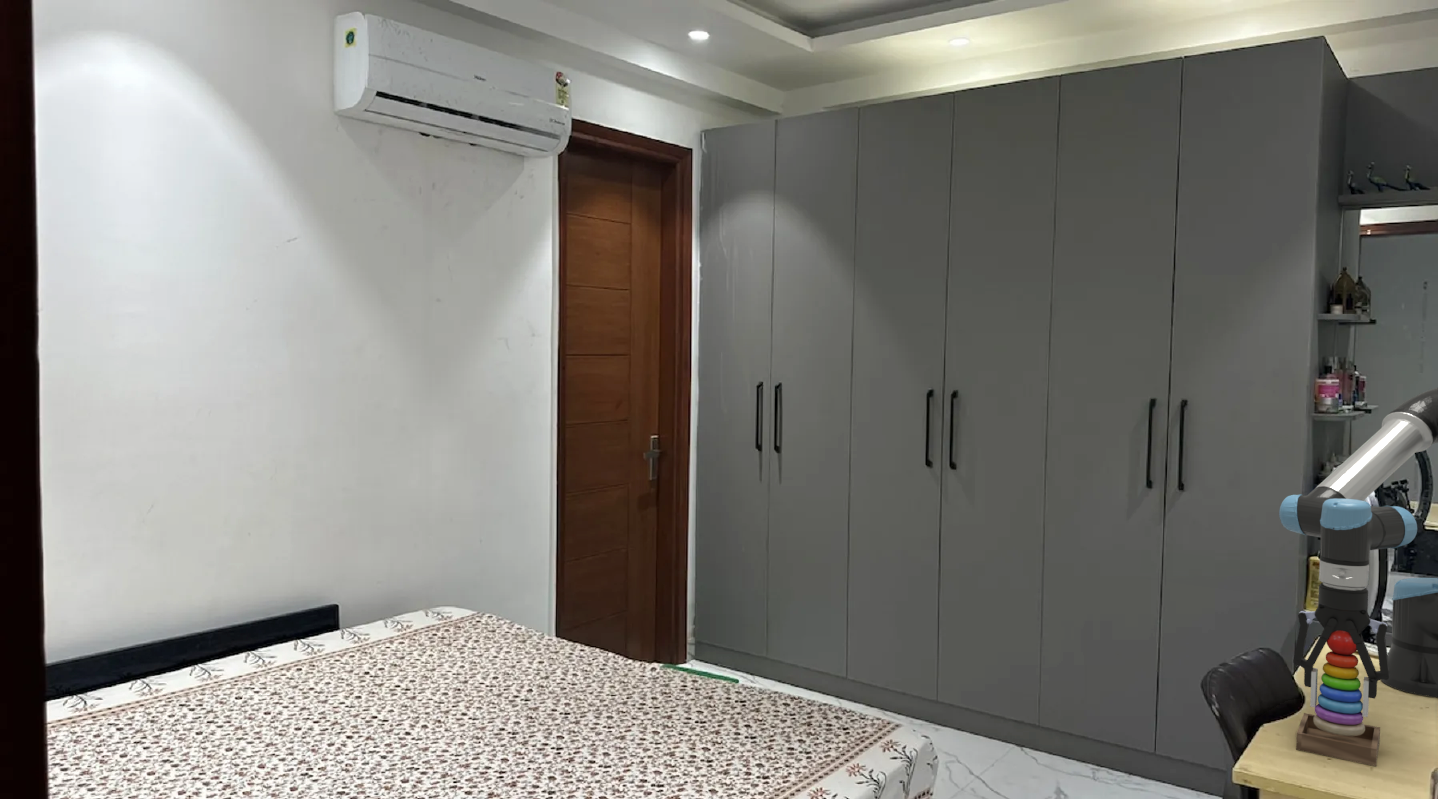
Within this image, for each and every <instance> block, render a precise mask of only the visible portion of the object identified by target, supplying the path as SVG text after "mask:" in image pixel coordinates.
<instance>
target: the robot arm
mask: <svg viewBox="0 0 1438 799" xmlns="http://www.w3.org/2000/svg"><path fill="white" fill-rule="evenodd" d="M1434 444H1438V387H1435V388H1431V389H1428V390H1425V391H1424V392H1421V393H1419V394H1417V395H1414V396H1412V397H1411V398H1409V399H1407V400H1405V401H1404V402H1402V403H1401V404H1399V405H1398V406H1397V407H1395V408H1394V409H1393V410H1392V411H1390V412H1389V413H1388V414H1387V415H1386V416H1385V417H1383V419H1382V421H1381V428H1380V429H1378V431H1376V432H1375V433H1374V434H1373V435H1371V437H1370V438H1369V439H1367V441H1366V442H1364V443H1363V444H1362V445H1361V446H1360V447H1358V449H1356V451H1354V452H1353V453H1352V454H1351V455H1350V456H1349V457H1348V458H1346V459H1345V461H1343V462H1342V463H1341V464H1340V465H1339V466H1338V467H1337V468H1336V469H1335V470H1333V471H1332V472H1331V473H1330V474H1329V475H1328V476H1327V477H1326V478H1325V479H1323V480H1322V482H1320V483H1318V485H1317V486H1316V487H1315V488H1314V489H1312V490H1311V491H1310V492H1309V493H1308V494H1307V495H1304V494H1292V495H1287V496H1286V497H1285V498H1284V499H1283V500H1282V502H1281V504H1280V506H1279V513H1278V514H1279V519H1280V523H1281V525H1282V526H1283V528H1284V529H1286V530H1287V531H1289V532H1293V533H1296V534H1300V535H1304V536H1311V537H1317V538H1320V554H1319V574H1318V575H1319V576H1318V580H1319V581H1320V582H1321V583H1320V584H1319V585H1318V598H1317V599H1318V600H1317V602H1318V603H1317V608H1316V609H1315V610H1314V611H1313V610H1311V611H1306V610H1303V609H1302V610H1300V611H1299V612H1298V614H1297V617H1298V622H1299V630H1298V634H1297V640H1296V644H1295V650H1294V654H1293V661H1292V663H1293V665H1296V666H1299V667H1301V668H1302V669H1303V670H1304V673H1303V674H1304V676H1303V685H1304V687H1306V688H1307V687H1308V688H1310V703H1309V706H1310V707H1312V708H1315V706H1316V705H1317V704H1318V677H1319V676H1318V674H1319V672H1318V667H1314V666H1315V664H1316V662H1317V660H1318V658H1319V657H1320V654H1321V653H1322V651H1323V649H1324V648H1325V645H1326V644H1327V640H1328V638H1329V636H1330V634H1331V633H1332V632H1334V631H1339V630H1341V631H1346V632H1348V633H1350V635H1351V638H1352V640H1353V642H1354V644H1356V649H1357V650H1356V652H1357V654H1358V656H1359V658H1360V661H1361V663H1362V665H1363V668H1364V670H1365V673H1366V676H1364V678H1363V686H1362V687H1363V692H1362V703H1363V709H1362V716H1363V718H1364V717H1365V718H1368V716H1369V705H1370V704H1369V703H1370V702H1369V701H1370V699H1373V700H1375V699H1376V697H1377V694H1378V687H1377V686H1378V681H1381V682H1382V683H1384V684H1385V685H1387V686H1389V687H1390V688H1392V689H1393V688H1394V689H1396V690H1398V691H1403V692H1406V693H1409V694H1413V695H1418V696H1425V697H1433V698H1438V577H1410V578H1409V577H1408V578H1402V579H1399V580H1398V581H1396V582H1395V583H1394V586H1393V593H1392V598H1391V601H1392V617H1391V618H1392V623H1391V646H1390V648H1389V651H1388V649H1387V642H1386V633H1387V632H1388V631H1387V630H1388V627H1389V626H1388V623H1387V622H1386V621H1384V620H1383V621H1379V620H1375V619H1372V618H1371V616H1370V615H1369V613H1368V610H1369V609H1368V605H1369V604H1368V603H1369V602H1368V601H1369V590H1368V589H1367V588H1366V587H1368V586H1369V582H1370V580H1369V579H1370V578H1369V577H1370V555H1371V554H1370V552H1371V551H1374V550H1375V551H1376V550H1383V549H1384V550H1385V549H1396V548H1399V547H1403V546H1406V545H1408V544H1410V543H1411V542H1412V541H1414V540H1415V538H1416V537H1417V532H1418V524H1417V520H1416V519H1415V517H1414V516H1413V514H1412V513H1411V512H1410V511H1409V510H1407V509H1405V508H1404V507H1402V506H1396V505H1393V506H1390V505H1384V506H1376V505H1374V506H1373V505H1371V504H1370V503H1369V502H1368V501H1365V500H1366V499H1367V498H1369V496H1370V495H1371V494H1372V493H1373V492H1374V491H1376V490H1377V489H1378V488H1379V487H1380V486H1381V485H1382V484H1383V483H1384V482H1385V481H1386V480H1387V479H1388V478H1390V477H1391V476H1392V474H1393V475H1394V473H1395V472H1396V471H1397V470H1398V469H1399V468H1400V467H1401V466H1403V465H1404V464H1405V463H1406V462H1407V461H1408V460H1409V459H1410V458H1411V457H1412V456H1414V455H1415V453H1419V452H1420V453H1421V452H1424V451H1426V450H1428V449H1430V447H1431V446H1432V445H1434ZM1314 619H1316V620H1317V621H1318V623H1319V624H1320V625H1321V627H1322V628H1323V630H1322V632H1321V634H1320V636H1319V637H1318V639H1317V641H1316V643H1315V645H1314V647H1313V648H1312V650H1311V652H1310V654H1309V656H1308V658H1307V659H1306V658H1304V652H1305V648H1306V642H1307V637H1308V631H1309V627H1310V625H1311V624H1313V621H1314ZM1368 626H1369V627H1371V631H1372V632H1373V634H1375V636H1376V638H1375V641H1376V648H1377V657H1378V663H1379V670H1377V671H1376V667H1375V665H1374V663H1373V660H1372V658H1371V656H1370V652H1369V651H1368V648H1367V646H1366V643H1365V641H1364V637H1363V634H1362V632H1363V631H1364V630H1365V629H1366V628H1367V627H1368Z"/></svg>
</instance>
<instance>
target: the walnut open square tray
mask: <svg viewBox="0 0 1438 799" xmlns="http://www.w3.org/2000/svg"><path fill="white" fill-rule="evenodd" d="M1315 715H1316V714H1313V713H1312V714H1311V713H1306V712H1303V715H1302V718H1301V721H1300V723H1299V726H1298V728H1297V731H1296V736H1295V737H1296V741H1295V745H1296V746H1295V749H1296V750H1297V751H1302V752H1306V753H1311V754H1316V755H1320V756H1326V757H1330V758H1335V759H1339V760H1345V761H1348V762H1349V761H1350V762H1354V763H1359V764H1363V765H1368V766H1373V767H1377V762H1378V755H1379V749H1380V742H1381V740H1380V737H1381V736H1380V734H1381V727H1379V726H1374V725H1369V724H1365V723H1363V724H1364V725H1365V732H1364V733H1363V734H1361V735H1358V736H1342V735H1336V734H1332V733H1329V732H1326V731H1323V730H1321V729H1319V728H1318V727H1317V726H1316V725H1315V724H1314V721H1313V718H1314V716H1315Z"/></svg>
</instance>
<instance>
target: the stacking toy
mask: <svg viewBox="0 0 1438 799" xmlns="http://www.w3.org/2000/svg"><path fill="white" fill-rule="evenodd" d="M1326 645H1327V646H1328V648H1329V649H1330V651H1328V652H1327V653H1326V654H1325V660H1326V661H1327V662H1325V663H1324V664H1323V666H1322V671H1323V674H1322V675H1321V681H1322V683H1321V684H1320V685H1319V692H1320V693H1319V695H1317V703H1316V706H1315V707H1314V713H1315V714H1314V715H1315V716H1314V718H1313V721H1314V724H1315V725H1316V726H1317V727H1318V728H1319V729H1321V730H1323V731H1326V732H1329V733H1332V734H1336V735H1342V736H1358V735H1361V734H1363V733H1364V732H1365V725H1366V724H1365V723H1364V722H1363V721H1364V717H1363V716H1362V713H1363V701H1362V700H1361V699H1363V692H1362V691H1361V689H1360V687H1361V686H1362V685H1361V680H1360V679H1359V678H1358V677H1359V674H1360V672H1359V669H1358V668H1357V667H1356V666H1358V664H1359V659H1358V657H1357V656H1356V655H1355V654H1354V653H1356V652H1357V649H1356V644H1354V642H1353V640H1352V638H1351V635H1350V633H1348V632H1346V631H1341V630H1339V631H1334V632H1332V633H1331V634H1330V636H1329V638H1328V640H1327V642H1326ZM1364 724H1365V725H1364Z"/></svg>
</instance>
